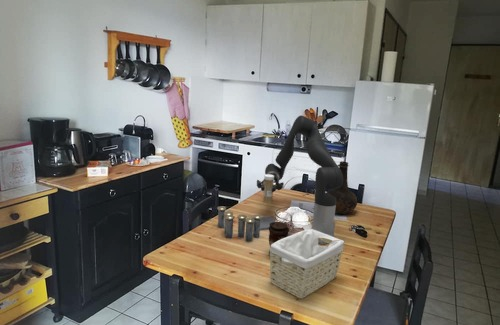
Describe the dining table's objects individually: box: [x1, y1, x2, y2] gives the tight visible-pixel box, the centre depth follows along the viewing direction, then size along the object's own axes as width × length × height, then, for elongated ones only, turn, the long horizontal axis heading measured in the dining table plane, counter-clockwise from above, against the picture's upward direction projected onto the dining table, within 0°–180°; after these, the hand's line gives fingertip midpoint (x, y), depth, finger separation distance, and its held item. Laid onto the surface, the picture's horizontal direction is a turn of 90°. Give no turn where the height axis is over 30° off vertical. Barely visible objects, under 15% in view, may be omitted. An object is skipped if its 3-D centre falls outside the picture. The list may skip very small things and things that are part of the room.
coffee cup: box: [268, 221, 290, 256], centre depth 147 cm, size 9×8×13 cm
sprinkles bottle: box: [262, 174, 274, 204], centre depth 176 cm, size 5×5×14 cm
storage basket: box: [269, 228, 345, 299], centre depth 129 cm, size 24×16×15 cm
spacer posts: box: [216, 205, 263, 243], centre depth 166 cm, size 21×16×10 cm
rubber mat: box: [252, 215, 276, 231], centre depth 179 cm, size 13×13×1 cm
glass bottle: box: [325, 161, 358, 215], centre depth 200 cm, size 18×18×28 cm
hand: (267, 189), depth 173 cm, fingers closed on sprinkles bottle, 4 cm apart
